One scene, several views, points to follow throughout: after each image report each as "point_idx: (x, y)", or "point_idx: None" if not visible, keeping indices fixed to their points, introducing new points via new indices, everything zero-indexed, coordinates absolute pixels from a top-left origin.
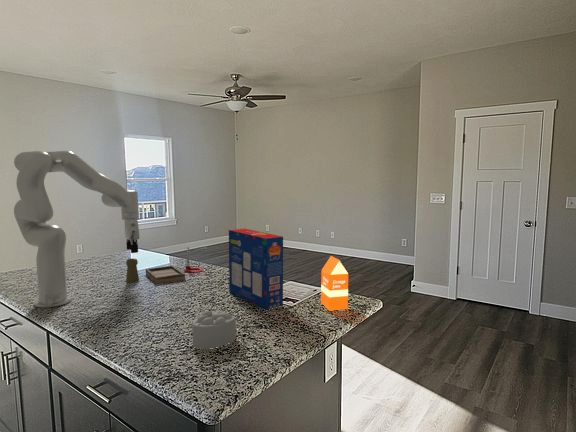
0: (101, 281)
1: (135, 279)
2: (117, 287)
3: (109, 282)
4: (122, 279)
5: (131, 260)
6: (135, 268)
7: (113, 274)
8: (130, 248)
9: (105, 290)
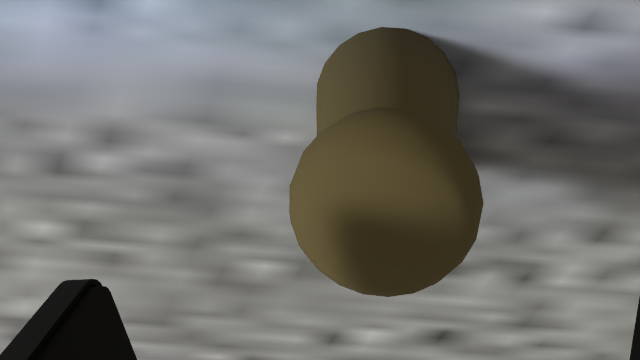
0: (270, 333)
1: (455, 83)
2: (558, 246)
3: (334, 287)
4: (270, 183)
5: (462, 243)
6: (439, 121)
7: (46, 236)
8: (125, 355)
9: (594, 332)
